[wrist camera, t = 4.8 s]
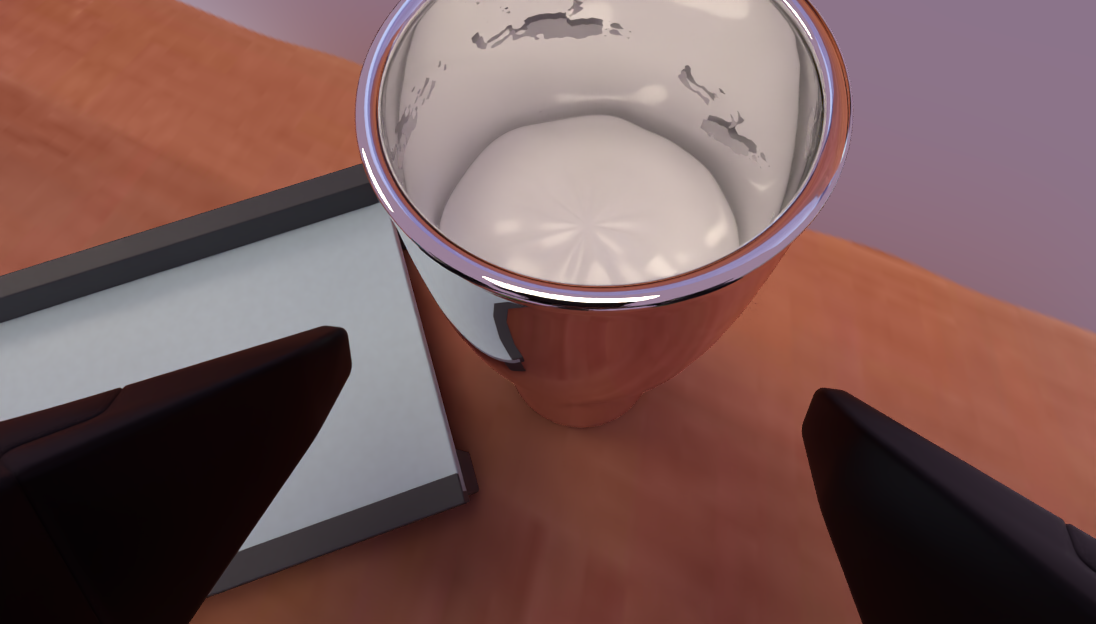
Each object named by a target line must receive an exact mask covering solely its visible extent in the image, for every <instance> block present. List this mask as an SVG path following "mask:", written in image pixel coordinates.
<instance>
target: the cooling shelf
mask: <svg viewBox="0 0 1096 624" xmlns="http://www.w3.org/2000/svg"><path fill="white" fill-rule="evenodd" d="M404 249H407V248H406V246H405V244H404V242H403V240H402V238H401V236H400V234H399V232H398V230H397V228H396V226H395V224H394V222H393V221H392V219H391V218H390V217H389V215H388V214H387V213H386V211H385V210H384V208H383V207H382V205H381V203H380V202H379V200H378V198H377V197H376V195H375V193H374V191H373V189H372V187H371V185H370V183H369V181H368V178H367V176H366V173H365V170H364V167H363V164H359V165H355V166H352V167H349V168H346V169H343V170H339V171H336V172H333V173H330V174H327V175H323V176H320V177H317V178H314V179H311V180H307V181H304V182H301V183H298V184H294V185H291V186H288V187H285V188H282V189H278V190H275V191H272V192H269V193H266V194H262V195H259V196H256V197H253V198H250V199H246V200H243V201H240V202H237V203H234V204H230V205H227V206H224V207H221V208H217V209H214V210H211V211H208V212H205V213H201V214H198V215H195V216H192V217H189V218H185V219H182V220H179V221H176V222H173V223H169V224H166V225H163V226H160V227H156V228H153V229H150V230H147V231H144V232H140V233H137V234H134V235H131V236H128V237H124V238H121V239H118V240H115V241H112V242H108V243H105V244H102V245H99V246H96V247H92V248H89V249H86V250H83V251H79V252H76V253H73V254H70V255H67V256H63V257H60V258H57V259H54V260H51V261H47V262H44V263H41V264H38V265H35V266H31V267H28V268H25V269H22V270H18V271H15V272H12V273H9V274H6V275H2V276H0V421H4V420H8V419H11V418H15V417H19V416H22V415H26V414H30V413H33V412H37V411H40V410H44V409H48V408H51V407H55V406H58V405H62V404H65V403H69V402H72V401H75V400H79V399H82V398H86V397H89V396H92V395H96V394H99V393H102V392H106V391H109V390H112V389H115V388H122V389H123V388H124V387H125V386H126V385H129V384H132V383H136V382H139V381H142V380H145V379H149V378H152V377H155V376H159V375H162V374H165V373H168V372H172V371H175V370H178V369H182V368H185V367H188V366H192V365H195V364H198V363H201V362H205V361H208V360H211V359H215V358H218V357H221V356H224V355H228V354H231V353H234V352H238V351H241V350H244V349H248V348H251V347H254V346H257V345H261V344H264V343H267V342H271V341H274V340H277V339H280V338H284V337H287V336H290V335H294V334H297V333H300V332H303V331H307V330H310V329H313V328H317V327H320V326H324V325H328V326H336V327H342V328H344V329H345V330H346V331H347V333H348V338H349V345H350V352H351V359H352V369H351V373H350V376H349V378H348V380H347V381H346V383H345V385H344V387H343V389H342V391H341V393H340V394H339V396H338V398H337V400H336V402H335V404H334V406H333V408H332V409H331V411H330V413H329V415H328V417H327V419H326V421H325V422H324V424H323V426H322V428H321V430H320V431H319V433H318V435H317V436H316V438H315V440H314V441H313V443H312V444H311V446H310V447H309V449H308V450H307V452H306V453H305V455H304V456H303V457H302V459H301V460H300V462H299V463H298V465H297V466H296V468H295V469H294V471H293V472H292V473H291V475H290V476H289V478H288V479H287V481H286V482H285V484H284V485H283V487H282V488H281V490H280V491H279V492H278V494H277V495H276V497H275V498H274V500H273V501H272V503H271V504H270V506H269V507H268V508H267V510H266V511H265V513H264V514H263V516H262V517H261V519H260V520H259V522H258V523H257V524H256V526H255V527H254V529H253V530H252V532H251V533H250V535H249V536H248V538H247V539H246V541H245V542H244V543H243V545H242V546H241V548H240V549H239V551H238V552H237V554H236V555H235V557H234V558H233V559H232V561H231V562H230V564H229V565H228V567H227V568H226V570H225V571H224V573H223V574H222V575H221V577H220V578H219V580H218V581H217V583H216V584H215V586H214V587H213V589H212V590H211V592H210V593H209V594H208V596H207V597H206V598H208V597H211V596H213V595H216V594H219V593H222V592H224V591H227V590H230V589H232V588H235V587H238V586H241V585H243V584H246V583H249V582H252V581H254V580H257V579H260V578H263V577H265V576H268V575H271V574H274V573H276V572H279V571H282V570H285V569H287V568H290V567H293V566H296V565H298V564H301V563H304V562H307V561H309V560H312V559H315V558H317V557H320V556H323V555H326V554H328V553H331V552H334V551H337V550H339V549H342V548H345V547H348V546H350V545H353V544H356V543H359V542H361V541H364V540H367V539H370V538H372V537H375V536H378V535H381V534H383V533H386V532H389V531H391V530H394V529H397V528H400V527H402V526H405V525H408V524H411V523H413V522H416V521H419V520H422V519H424V518H427V517H430V516H433V515H435V514H438V513H441V512H444V511H446V510H449V509H452V508H455V507H457V506H460V505H463V504H466V503H468V502H470V499H469V495H471V494H474V493H477V492H478V491H479V487H478V483H477V480H476V476H475V473H474V469H473V465H472V462H471V458H470V455H469V453H468V452H465V451H461V450H457V449H455V446H454V442H453V438H452V435H451V431H450V427H449V423H448V420H447V416H446V412H445V408H444V405H443V401H442V397H441V393H440V390H439V386H438V382H437V379H436V375H435V371H434V367H433V364H432V360H431V356H430V352H429V349H428V345H427V341H426V337H425V334H424V330H423V326H422V322H421V319H420V315H419V311H418V307H417V304H416V300H415V296H414V292H413V289H412V285H411V281H410V278H409V274H408V270H407V266H406V263H405V259H404V255H403V251H402V250H404Z"/></svg>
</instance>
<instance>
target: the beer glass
mask: <svg viewBox="0 0 1096 624" xmlns="http://www.w3.org/2000/svg"><path fill="white" fill-rule="evenodd" d="M852 125H853V99H852V90H851V83H850V78H849V74H848V70H847V66H846V63H845V60H844V57H843V54H842V52H841V49H840V47H839V45H838V43H837V40H836V38H835V37H834V34H833V33H832V31H831V29H830V27H829V26H828V24H827V22H826V21H825V19H824V18H823V16H822V15H821V13H820V12H819V11H818V10H817V8H816V7H815V6H814V4H813V3H812V2H811V1H810V0H400V1H399V3H398V4H397V5H396V6H395V7H394V9H393V10H392V11H391V13H390V14H389V15H388V17H387V18H386V20H385V21H384V22H383V24H382V26H381V27H380V29H379V30H378V32H377V34H376V36H375V38H374V40H373V42H372V44H371V46H370V48H369V50H368V53H367V56H366V58H365V61H364V64H363V67H362V70H361V73H360V77H359V82H358V87H357V92H356V101H355V131H356V138H357V144H358V149H359V153H360V157H361V161H362V164H363V167H364V170H365V173H366V176H367V178H368V181H369V183H370V185H371V187H372V189H373V191H374V193H375V195H376V197H377V198H378V200H379V202H380V203H381V205H382V207H383V208H384V210H385V211H386V213H387V214H388V215H389V217H390V218H391V219H392V221H393V222H394V224H395V226H396V228H397V230H398V232H399V234H400V236H401V238H402V240H403V242H404V244H405V246H406V248H407V250H408V252H409V254H410V256H411V258H412V260H413V262H414V264H415V266H416V268H417V269H418V271H419V273H420V275H421V277H422V279H423V281H424V283H425V285H426V286H427V288H428V290H429V292H430V293H431V295H432V296H433V298H434V300H435V301H436V303H437V304H438V306H439V307H440V309H441V310H442V312H443V313H444V315H445V316H446V318H447V319H448V321H449V322H450V324H451V325H452V327H453V328H454V329H455V331H456V332H457V333H458V334H459V335H460V337H461V338H462V339H463V340H464V341H465V342H466V343H467V344H468V345H469V346H470V348H471V349H472V350H473V351H474V352H475V353H476V354H477V355H478V356H479V357H480V358H481V359H482V360H483V361H484V362H485V363H486V364H487V365H488V366H490V367H491V368H492V369H493V370H494V371H496V372H497V373H498V374H500V375H501V376H503V377H504V378H506V379H508V380H509V381H511V382H513V383H514V385H515V387H516V389H517V391H518V393H519V394H520V396H521V397H522V399H523V400H524V401H525V402H526V404H527V405H528V406H529V407H530V408H531V409H532V410H534V411H535V412H536V413H537V414H539V415H540V416H542V417H544V418H546V419H548V420H550V421H552V422H555V423H557V424H560V425H564V426H569V427H576V428H587V427H594V426H599V425H603V424H606V423H608V422H611V421H613V420H615V419H617V418H618V417H620V416H622V415H623V414H624V413H626V412H627V411H628V410H629V409H630V408H631V407H632V406H633V405H634V404H635V403H636V402H637V401H638V399H639V398H640V397H641V395H642V394H643V392H646V391H648V390H651V389H653V388H655V387H657V386H659V385H661V384H663V383H665V382H666V381H668V380H670V379H671V378H673V377H674V376H676V375H677V374H679V373H680V372H681V371H683V370H684V369H685V368H687V367H688V366H689V365H690V364H692V363H693V362H694V361H695V360H697V359H698V358H699V357H700V356H702V355H703V354H704V353H705V352H706V351H707V350H709V349H710V348H711V347H712V346H713V345H714V344H715V343H716V342H717V341H718V340H719V338H720V337H721V336H722V335H723V334H724V333H725V332H726V331H727V330H728V328H729V327H730V326H731V325H732V324H733V323H734V322H735V321H736V319H737V318H738V317H739V316H740V315H741V314H742V312H743V311H744V310H745V309H746V307H747V306H748V305H749V303H750V302H751V301H752V299H753V298H754V297H755V295H756V294H757V293H758V291H759V290H760V288H761V287H762V286H763V284H764V283H765V282H766V280H767V279H768V278H769V276H770V275H771V273H772V272H773V270H774V269H775V268H776V266H777V265H778V263H779V262H780V260H781V259H782V257H783V256H784V254H785V253H786V251H787V250H788V248H789V247H790V246H791V244H792V243H793V242H794V241H795V240H796V239H797V238H798V237H799V236H800V235H801V234H802V233H803V232H804V231H805V229H806V228H807V227H808V226H809V225H810V224H811V222H812V221H813V220H814V219H815V217H816V216H817V215H818V213H819V212H820V211H821V209H822V208H823V206H824V204H825V203H826V202H827V200H828V198H829V197H830V195H831V193H832V191H833V189H834V187H835V185H836V183H837V181H838V179H839V176H840V174H841V172H842V169H843V166H844V163H845V160H846V157H847V154H848V150H849V146H850V140H851V134H852Z"/></svg>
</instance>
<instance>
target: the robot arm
mask: <svg viewBox="0 0 1096 624" xmlns="http://www.w3.org/2000/svg"><path fill="white" fill-rule="evenodd" d="M351 369H352V359H351V352H350V345H349V338H348V333H347V331H346V330H345V329H344V328H342V327H336V326H328V325H324V326H320V327H317V328H313V329H310V330H307V331H303V332H300V333H297V334H294V335H290V336H287V337H284V338H280V339H277V340H274V341H271V342H267V343H264V344H261V345H257V346H254V347H251V348H248V349H244V350H241V351H238V352H234V353H231V354H228V355H224V356H221V357H218V358H215V359H211V360H208V361H205V362H201V363H198V364H195V365H192V366H188V367H185V368H182V369H178V370H175V371H172V372H168V373H165V374H162V375H159V376H155V377H152V378H149V379H145V380H142V381H139V382H136V383H132V384H129V385H126V386H125V387H124V388H123V389H122V388H115V389H112V390H109V391H106V392H102V393H99V394H96V395H92V396H89V397H86V398H82V399H79V400H75V401H72V402H69V403H65V404H62V405H58V406H55V407H51V408H48V409H44V410H40V411H37V412H33V413H30V414H26V415H22V416H19V417H15V418H11V419H8V420H4V421H0V624H189V622H190V621H191V619H192V618H193V616H194V615H195V613H196V612H197V610H198V609H199V608H200V606H201V605H202V603H203V602H204V600H205V599H206V597H207V596H208V594H209V593H210V592H211V590H212V589H213V587H214V586H215V584H216V583H217V581H218V580H219V578H220V577H221V575H222V574H223V573H224V571H225V570H226V568H227V567H228V565H229V564H230V562H231V561H232V559H233V558H234V557H235V555H236V554H237V552H238V551H239V549H240V548H241V546H242V545H243V543H244V542H245V541H246V539H247V538H248V536H249V535H250V533H251V532H252V530H253V529H254V527H255V526H256V524H257V523H258V522H259V520H260V519H261V517H262V516H263V514H264V513H265V511H266V510H267V508H268V507H269V506H270V504H271V503H272V501H273V500H274V498H275V497H276V495H277V494H278V492H279V491H280V490H281V488H282V487H283V485H284V484H285V482H286V481H287V479H288V478H289V476H290V475H291V473H292V472H293V471H294V469H295V468H296V466H297V465H298V463H299V462H300V460H301V459H302V457H303V456H304V455H305V453H306V452H307V450H308V449H309V447H310V446H311V444H312V443H313V441H314V440H315V438H316V436H317V435H318V433H319V431H320V430H321V428H322V426H323V424H324V422H325V421H326V419H327V417H328V415H329V413H330V411H331V409H332V408H333V406H334V404H335V402H336V400H337V398H338V396H339V394H340V393H341V391H342V389H343V387H344V385H345V383H346V381H347V380H348V378H349V376H350V373H351ZM802 437H803V441H804V445H805V449H806V453H807V457H808V462H809V466H810V470H811V474H812V478H813V482H814V486H815V490H816V494H817V498H818V502H819V505H820V509H821V512H822V515H823V518H824V521H825V524H826V527H827V529H828V532H829V535H830V537H831V540H832V543H833V545H834V548H835V551H836V554H837V556H838V559H839V562H840V564H841V567H842V570H843V572H844V575H845V578H846V580H847V583H848V586H849V589H850V591H851V594H852V597H853V599H854V602H855V605H856V607H857V610H858V613H859V615H860V618H861V621H862V624H1096V539H1095V538H1093V537H1091V536H1090V535H1088V534H1086V533H1085V532H1083V531H1081V530H1080V529H1078V528H1076V527H1075V526H1073V525H1071V524H1066V525H1065V522H1064V521H1063V520H1062V519H1061V518H1059V517H1057V516H1056V515H1054V514H1052V513H1051V512H1049V511H1047V510H1045V509H1044V508H1042V507H1040V506H1039V505H1037V504H1035V503H1034V502H1032V501H1030V500H1029V499H1027V498H1025V497H1023V496H1022V495H1020V494H1018V493H1017V492H1015V491H1013V490H1012V489H1010V488H1008V487H1007V486H1005V485H1003V484H1001V483H1000V482H998V481H996V480H995V479H993V478H991V477H990V476H988V475H986V474H985V473H983V472H981V471H979V470H978V469H976V468H974V467H973V466H971V465H969V464H968V463H966V462H964V461H962V460H961V459H959V458H957V457H956V456H954V455H952V454H951V453H949V452H947V451H946V450H944V449H942V448H940V447H939V446H937V445H935V444H934V443H932V442H930V441H929V440H927V439H925V438H924V437H922V436H920V435H918V434H917V433H915V432H913V431H912V430H910V429H908V428H907V427H905V426H903V425H902V424H900V423H898V422H896V421H895V420H893V419H891V418H890V417H888V416H886V415H885V414H883V413H881V412H879V411H878V410H876V409H874V408H873V407H871V406H869V405H868V404H866V403H864V402H863V401H861V400H859V399H857V398H856V397H854V396H852V395H851V394H849V393H847V392H846V391H843V390H838V389H830V388H820V389H818V390H817V391H816V392H815V393H814V395H813V398H812V401H811V403H810V406H809V408H808V411H807V414H806V416H805V419H804V422H803V425H802Z"/></svg>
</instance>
